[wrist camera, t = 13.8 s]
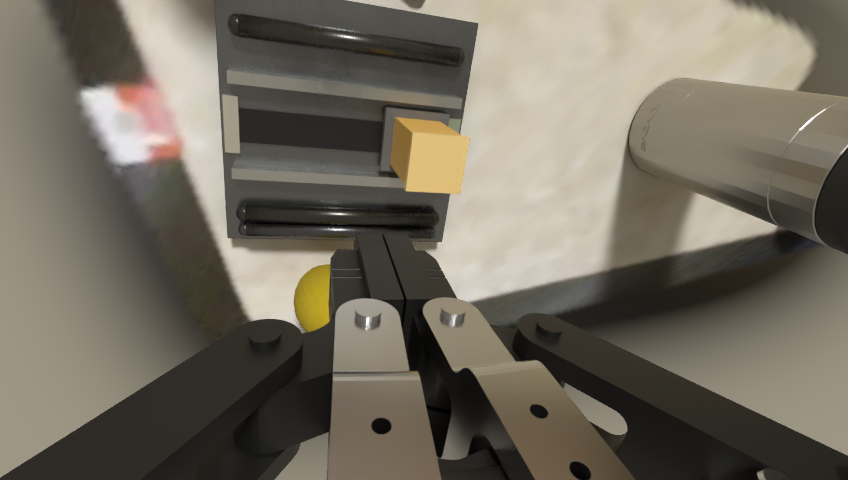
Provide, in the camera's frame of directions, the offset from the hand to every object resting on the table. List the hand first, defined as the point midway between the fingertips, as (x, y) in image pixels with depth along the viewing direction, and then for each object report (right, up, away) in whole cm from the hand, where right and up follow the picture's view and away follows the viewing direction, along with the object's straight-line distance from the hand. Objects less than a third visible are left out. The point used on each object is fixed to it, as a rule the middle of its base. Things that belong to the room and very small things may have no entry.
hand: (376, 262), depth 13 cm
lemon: (-8, -3, +27) cm, 28 cm away
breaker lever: (0, +9, +21) cm, 23 cm away
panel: (-5, +9, +22) cm, 24 cm away
